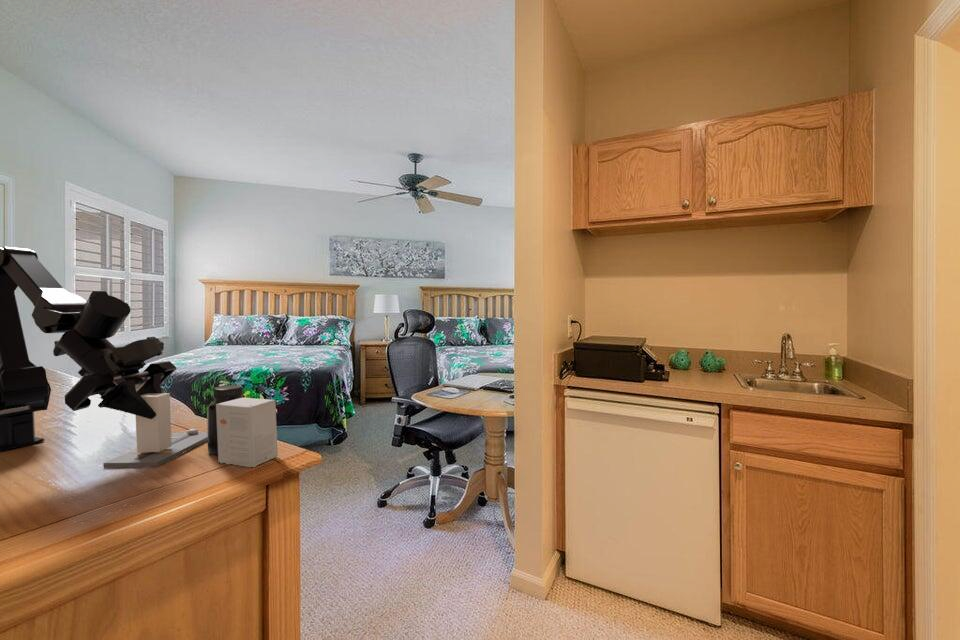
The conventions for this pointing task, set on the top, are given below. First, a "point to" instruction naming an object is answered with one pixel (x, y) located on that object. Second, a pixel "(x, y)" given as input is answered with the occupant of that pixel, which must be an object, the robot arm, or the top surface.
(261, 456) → the small box
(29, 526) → the top surface
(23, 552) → the top surface
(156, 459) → the board
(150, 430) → the fader tab
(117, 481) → the top surface
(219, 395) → the supplement bottle
